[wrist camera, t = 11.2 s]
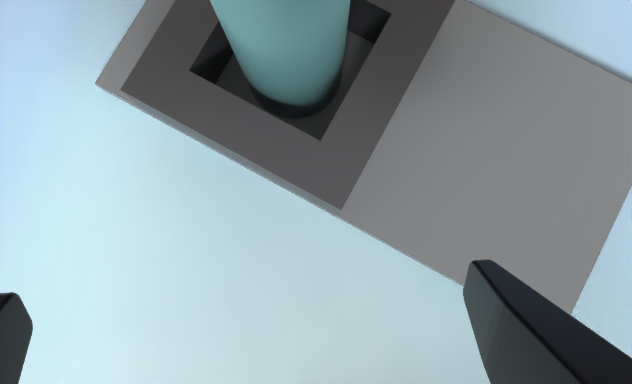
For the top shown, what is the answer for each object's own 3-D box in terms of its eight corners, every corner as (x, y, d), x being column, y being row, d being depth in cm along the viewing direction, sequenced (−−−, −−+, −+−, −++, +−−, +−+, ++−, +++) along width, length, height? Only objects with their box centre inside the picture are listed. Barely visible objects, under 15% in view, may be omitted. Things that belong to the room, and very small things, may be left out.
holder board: (658, 108, 22) (731, 77, 18) (550, 334, 21) (604, 353, 17) (226, -109, 24) (207, -181, 20) (102, 89, 23) (56, 55, 19)
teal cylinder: (366, 84, 22) (431, -149, 9) (282, 143, 22) (223, -9, 9) (306, 5, 22) (285, -326, 9) (223, 61, 22) (84, -198, 9)
